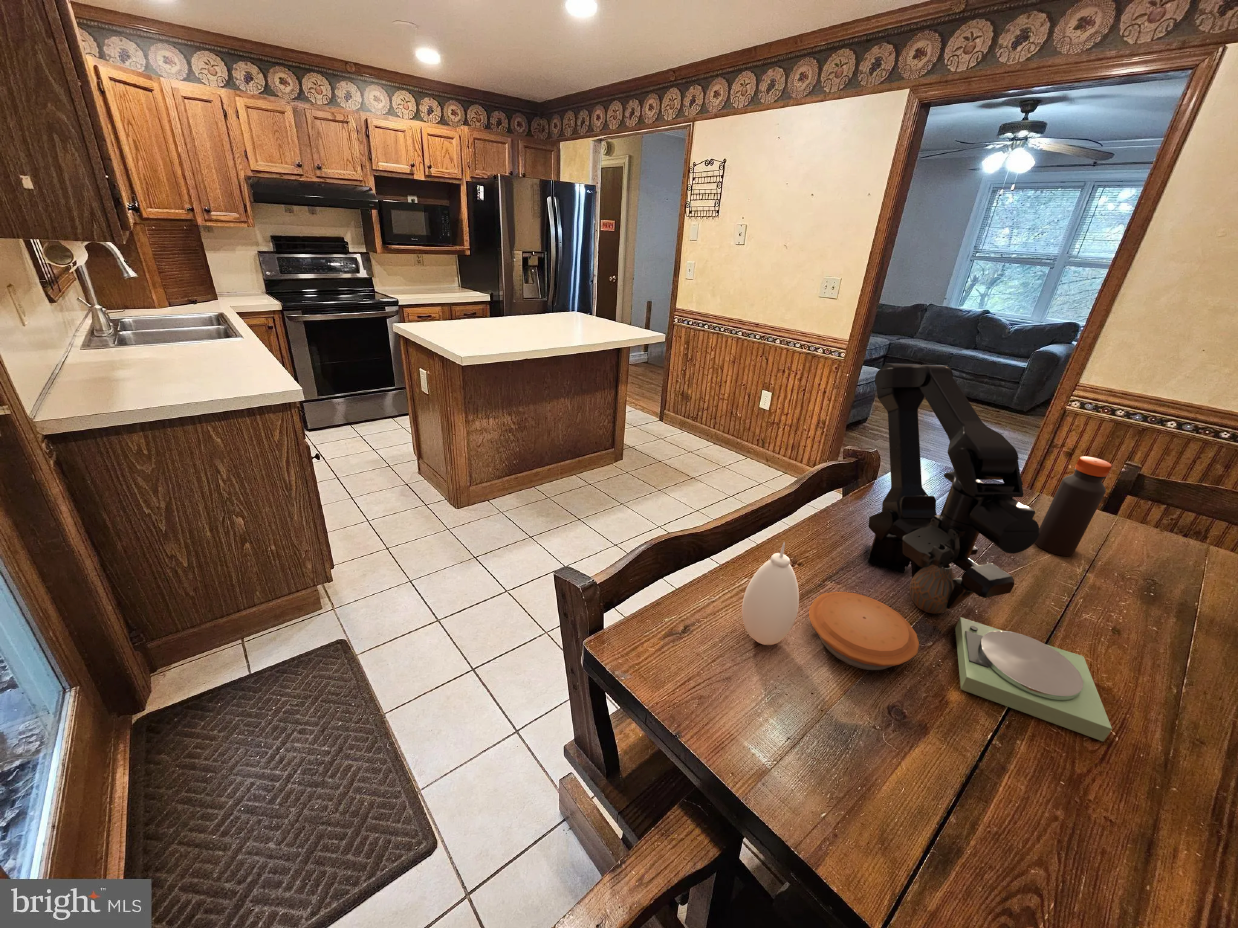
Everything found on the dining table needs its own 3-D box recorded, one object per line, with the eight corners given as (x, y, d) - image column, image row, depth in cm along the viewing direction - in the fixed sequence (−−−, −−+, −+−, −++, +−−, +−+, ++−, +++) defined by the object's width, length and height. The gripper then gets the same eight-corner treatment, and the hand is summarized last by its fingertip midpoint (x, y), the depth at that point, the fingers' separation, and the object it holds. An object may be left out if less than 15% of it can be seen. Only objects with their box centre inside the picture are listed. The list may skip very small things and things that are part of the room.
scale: (960, 689, 72) (967, 675, 71) (954, 628, 84) (960, 615, 83) (1103, 741, 66) (1113, 727, 65) (1076, 668, 77) (1084, 654, 76)
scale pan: (983, 676, 71) (985, 672, 71) (975, 623, 81) (977, 620, 81) (1091, 714, 66) (1094, 710, 66) (1069, 653, 76) (1071, 649, 76)
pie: (903, 623, 84) (912, 599, 82) (920, 696, 71) (931, 670, 69) (805, 598, 89) (811, 575, 86) (803, 663, 75) (811, 638, 73)
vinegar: (1070, 545, 109) (1114, 460, 100) (1075, 560, 104) (1122, 472, 95) (1032, 534, 112) (1071, 451, 103) (1034, 549, 107) (1076, 462, 98)
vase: (956, 623, 85) (974, 580, 81) (911, 615, 86) (928, 573, 82) (941, 596, 91) (958, 555, 87) (900, 589, 92) (914, 549, 88)
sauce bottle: (754, 614, 84) (774, 521, 77) (797, 640, 80) (823, 543, 72) (727, 637, 79) (745, 540, 72) (771, 666, 74) (796, 565, 67)
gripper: (878, 492, 87) (855, 567, 93) (976, 557, 71) (940, 642, 77) (930, 486, 90) (904, 559, 96) (1035, 546, 74) (995, 629, 80)
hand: (931, 594), depth 88 cm, fingers closed on vase, 7 cm apart
